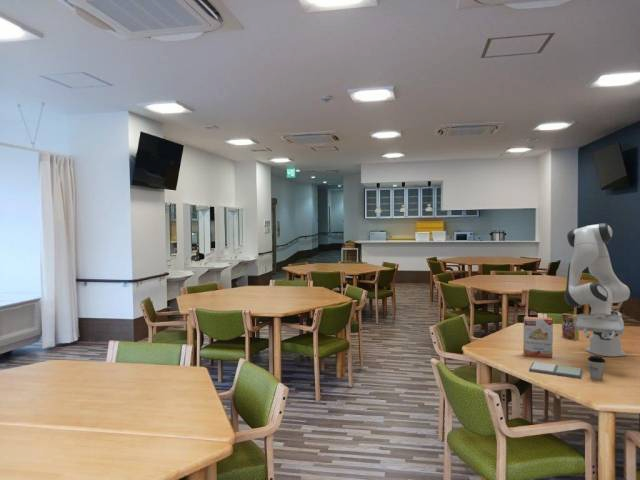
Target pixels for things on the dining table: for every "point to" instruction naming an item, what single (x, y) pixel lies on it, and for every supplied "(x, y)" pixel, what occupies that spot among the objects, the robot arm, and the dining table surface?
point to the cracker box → (538, 337)
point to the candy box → (569, 327)
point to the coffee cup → (596, 367)
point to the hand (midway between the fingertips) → (598, 338)
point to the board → (556, 370)
